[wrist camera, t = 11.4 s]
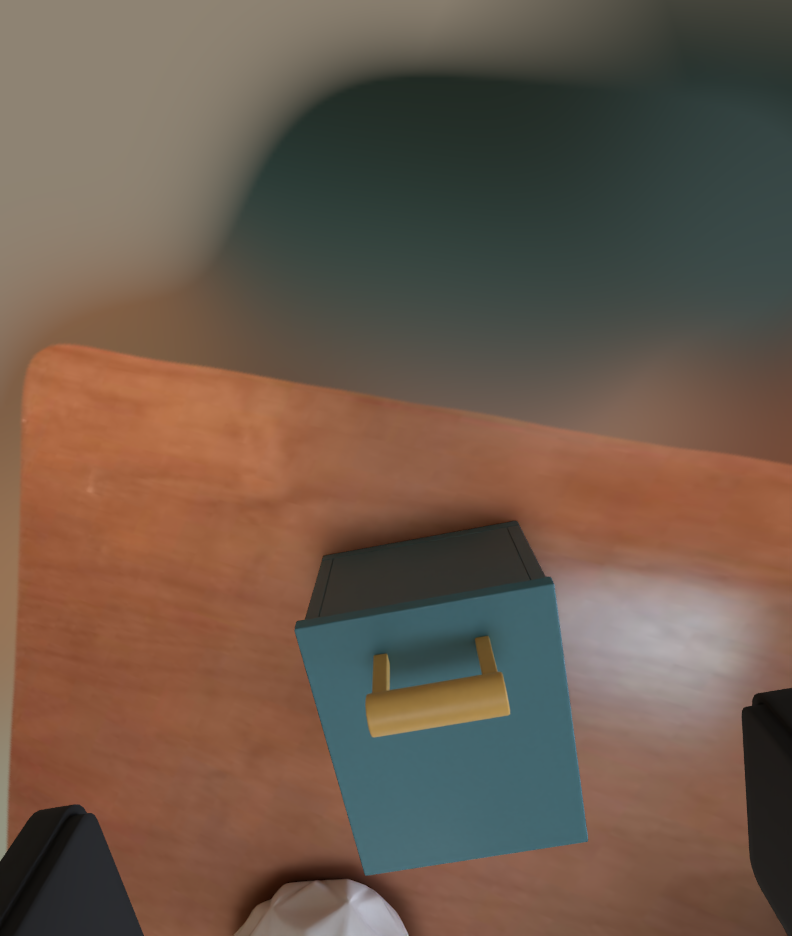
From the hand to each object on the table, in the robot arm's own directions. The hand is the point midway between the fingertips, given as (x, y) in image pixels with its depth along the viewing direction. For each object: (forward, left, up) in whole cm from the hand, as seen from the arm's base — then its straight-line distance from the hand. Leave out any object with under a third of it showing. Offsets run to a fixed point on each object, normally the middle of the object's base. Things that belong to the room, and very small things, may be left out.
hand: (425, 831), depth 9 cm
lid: (+5, +14, -22) cm, 27 cm away
